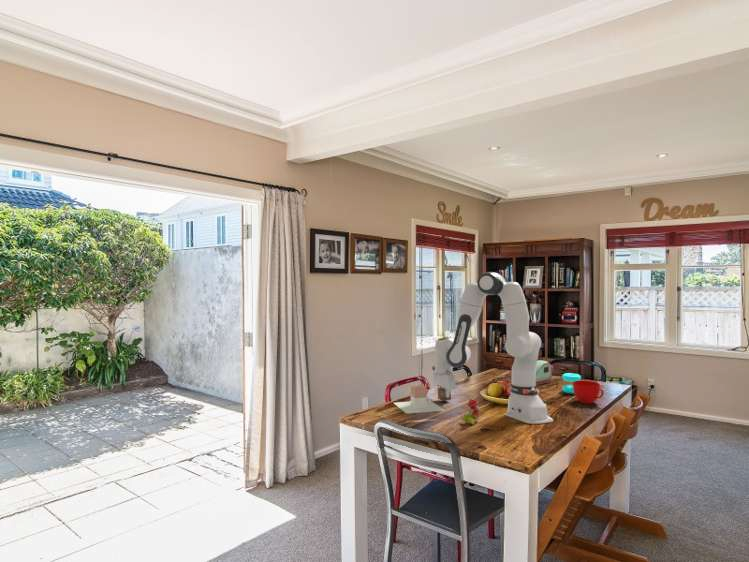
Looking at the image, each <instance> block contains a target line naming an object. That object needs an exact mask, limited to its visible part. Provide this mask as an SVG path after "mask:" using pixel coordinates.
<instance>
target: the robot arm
mask: <svg viewBox="0 0 749 562" xmlns="http://www.w3.org/2000/svg"><path fill="white" fill-rule="evenodd" d="M488 296H498V297H500V300H501V304H502V307H503V313H504V318H505V323H506V341H505V343H504V348H505V351H506V353H507V354H508V355H509V356H511V357H514V361H513V364H512V365H511V383H510V386H509V388H510V389H509V390H510V395H509V397H508V400H507V402H508V403H507V411H506V412H505V416H506V417H509V418H511V419H514V420H517V421H519V422H522V423H525V424H529V425H530V424H533V425H535V424H536V425H537V424H538V425H540V424H548V423H552V422H554V419H553V418H552V417H551V416H549V415H548V408H547V407H548V406H547V404H546V403H544V401H543V400H542V399H541V397H540V396H539V392H540V391H539V390H540V389H539V388H538V387H537V386H538V385H536V364H537V361H538V359H539V352H540V349H541V346H542V339H541V337H540V335H538V334H537V333H536V332H532V331H530V327H529V325H530V319H531V317H530V313H529V309H528V304H527V301H526V297H525V294H524V291H523V289H522V286H521V285H520V284H519V282H516V281H507V279H506V278H505V276H504V275H502V274H501V273H497V272H493V271H487V272H483V273H482V274H480V275H479V277H478V278H477V282H469V283H468V284H466V286H465V288H464V290H463V292H462V295H461V300H460V303H459V310H458V319H457V327H456V331H455V334H454V338H453V339H452V338H451V337H449V336H448V337H441V338H439V339H437V340H436V341H435V347H434V355H435V362H434V363H435V364H434V365H433V366H431V371H432V379H433V380H432V381H433V384H435V385H437V387H438V389H442V388H445V390H446V393H445V397H449V393H450V391H451V392H452V391H455V390H456V378H455V375H454V374H453V371H454V369H453V368H461V367H463V366H464V365H465V364H466V363H467V361H469V360H470V359H471V356H472V351H471V349H470V347H469V346H468V345H467V343H468V339H469V335H470V331H471V329H472V327H473V326H474V325H475V324H476V323H477V321H478V320H479V317H480V316H481V313H482V310H483V307H484V306H483V305H484V301H485V298H486V297H488Z"/></svg>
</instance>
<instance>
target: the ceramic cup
mask: <svg viewBox="0 0 749 562" xmlns="http://www.w3.org/2000/svg"><path fill="white" fill-rule="evenodd" d="M572 385H573V390H574V396H575V398H576V399H577V400H578V401H579V403H581V404H587V405H588V404H590V405H591V404H592V405H593V403H594V402H595V401H596V400H598V399H601V398H602V397H603V396H604V390H603V389H602V388H601V384H600V383H599V382H596V381H592V380H580V381H574V382H572Z"/></svg>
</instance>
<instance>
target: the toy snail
mask: <svg viewBox="0 0 749 562" xmlns="http://www.w3.org/2000/svg"><path fill="white" fill-rule="evenodd" d="M553 370H554V366H553V364H551V363H549V361H546V360H538V359H537V364H536V386H539V385H543V384H547V383H550V382H551V381H552V376H553Z"/></svg>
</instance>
